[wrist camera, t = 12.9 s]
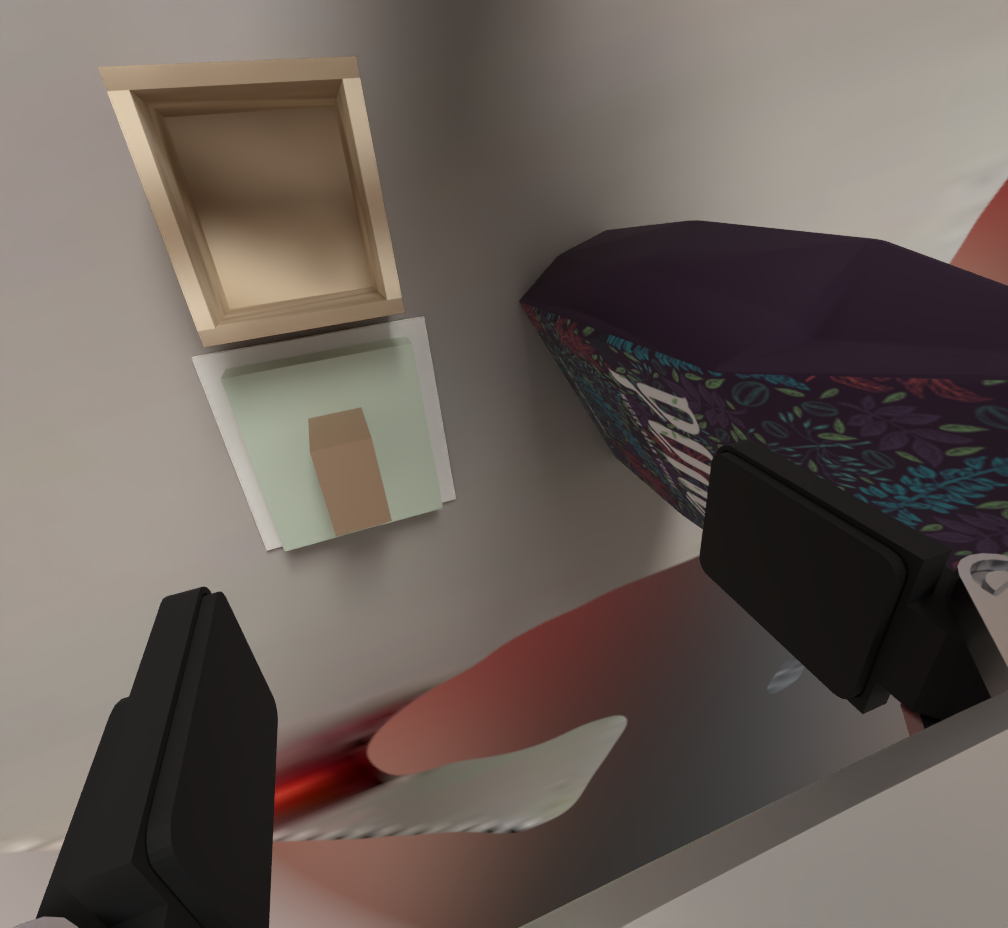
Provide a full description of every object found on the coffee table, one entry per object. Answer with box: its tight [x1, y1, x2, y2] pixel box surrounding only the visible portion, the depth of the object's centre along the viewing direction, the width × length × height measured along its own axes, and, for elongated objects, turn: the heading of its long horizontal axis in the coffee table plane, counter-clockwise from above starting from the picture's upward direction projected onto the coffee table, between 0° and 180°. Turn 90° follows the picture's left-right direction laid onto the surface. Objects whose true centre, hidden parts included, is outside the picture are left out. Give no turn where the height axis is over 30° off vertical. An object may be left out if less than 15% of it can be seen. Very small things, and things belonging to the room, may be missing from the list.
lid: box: [221, 336, 443, 551], centre depth 30 cm, size 11×10×7 cm
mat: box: [192, 316, 456, 551], centre depth 33 cm, size 13×13×1 cm
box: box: [98, 56, 405, 347], centre depth 24 cm, size 10×9×6 cm
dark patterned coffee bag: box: [520, 221, 1008, 572], centre depth 26 cm, size 8×16×28 cm, turn 35°
